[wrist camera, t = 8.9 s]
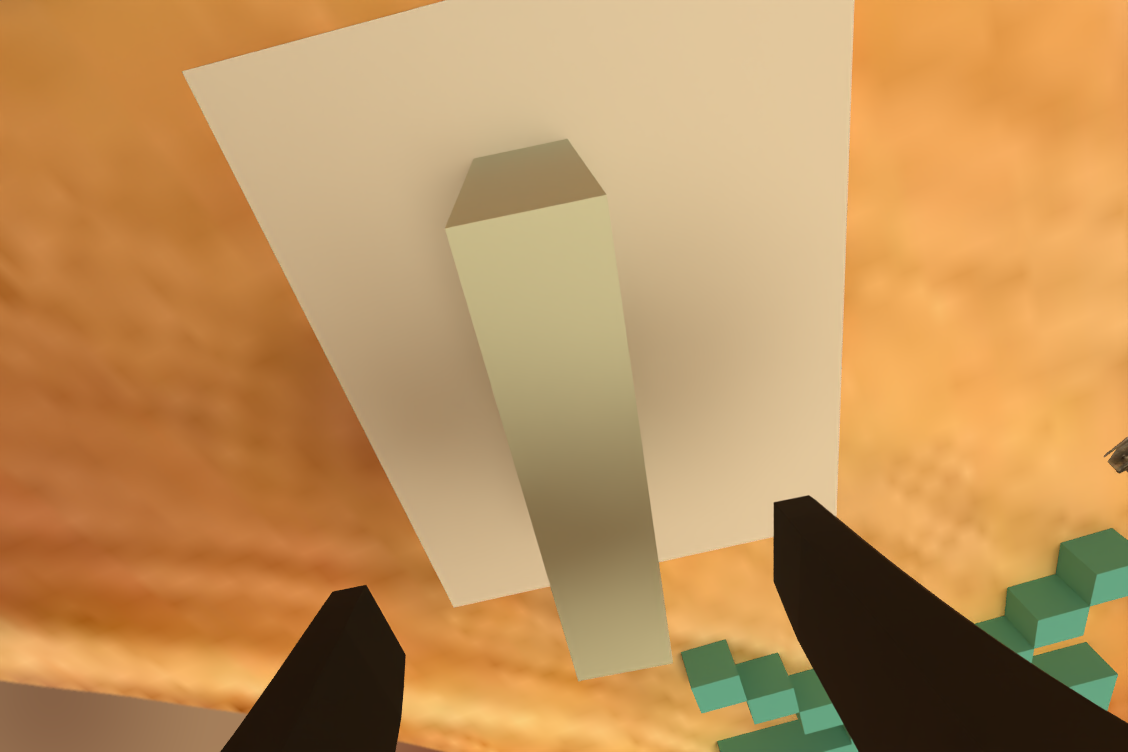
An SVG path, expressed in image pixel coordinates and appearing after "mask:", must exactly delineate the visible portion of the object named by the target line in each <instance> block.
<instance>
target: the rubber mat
mask: <svg viewBox="0 0 1128 752" xmlns="http://www.w3.org/2000/svg"><path fill="white" fill-rule="evenodd" d="M853 25H854V0H445V1H442V2H438V3H434V4H431V5H427V6H423V7H419V8H416V9H412V10H408V11H405V12H401V13H397V14H393V15H390V16H386V17H382V18H379V19H375V20H371V21H367V22H364V23H360V24H356V25H353V26H349V27H345V28H341V29H338V30H334V31H330V32H327V33H323V34H319V35H315V36H312V37H308V38H304V39H301V40H297V41H293V42H289V43H286V44H282V45H278V46H275V47H271V48H267V49H263V50H260V51H256V52H252V53H249V54H245V55H241V56H237V57H234V58H230V59H226V60H223V61H219V62H215V63H211V64H208V65H204V66H200V67H197V68H193V69H189V70H185V71H182V73H183V75H184V77H185V79H186V81H187V83H188V85H189V87H190V88H191V90H192V92H193V94H194V96H195V98H196V100H197V102H198V104H199V106H200V108H201V110H202V112H203V114H204V116H205V118H206V120H207V122H208V124H209V126H210V128H211V130H212V132H213V134H214V136H215V138H216V140H217V142H218V144H219V146H220V148H221V150H222V152H223V154H224V155H225V157H226V159H227V161H228V163H229V165H230V167H231V169H232V171H233V173H234V175H235V177H236V179H237V181H238V183H239V185H240V187H241V189H242V191H243V193H244V195H245V197H246V199H247V201H248V203H249V205H250V207H251V209H252V211H253V213H254V215H255V217H256V219H257V221H258V223H259V224H260V226H261V228H262V230H263V232H264V234H265V236H266V238H267V240H268V242H269V244H270V246H271V248H272V250H273V252H274V254H275V256H276V258H277V260H278V262H279V264H280V266H281V268H282V270H283V272H284V274H285V276H286V278H287V280H288V282H289V284H290V286H291V288H292V290H293V292H294V293H295V295H296V297H297V299H298V301H299V303H300V305H301V307H302V309H303V311H304V313H305V315H306V317H307V319H308V321H309V323H310V325H311V327H312V329H313V331H314V333H315V335H316V337H317V339H318V341H319V343H320V345H321V347H322V349H323V351H324V353H325V355H326V357H327V359H328V361H329V362H330V364H331V366H332V368H333V370H334V372H335V374H336V376H337V378H338V380H339V382H340V384H341V386H342V388H343V390H344V392H345V394H346V396H347V398H348V400H349V402H350V404H351V406H352V408H353V410H354V412H355V414H356V416H357V418H358V420H359V422H360V424H361V426H362V428H363V430H364V431H365V433H366V435H367V437H368V439H369V441H370V443H371V445H372V447H373V449H374V451H375V453H376V455H377V457H378V459H379V461H380V463H381V465H382V467H383V469H384V471H385V473H386V475H387V477H388V479H389V481H390V483H391V485H392V487H393V489H394V491H395V493H396V495H397V497H398V499H399V500H400V502H401V504H402V506H403V508H404V510H405V512H406V514H407V516H408V518H409V520H410V522H411V524H412V526H413V528H414V530H415V532H416V534H417V536H418V538H419V540H420V542H421V544H422V546H423V548H424V550H425V552H426V554H427V556H428V558H429V560H430V562H431V564H432V566H433V568H434V569H435V571H436V573H437V575H438V577H439V579H440V581H441V583H442V585H443V587H444V589H445V591H446V593H447V595H448V597H449V599H450V601H451V603H452V605H453V607H458V606H463V605H467V604H472V603H476V602H481V601H485V600H490V599H494V598H499V597H504V596H508V595H513V594H517V593H522V592H526V591H531V590H535V589H540V588H544V587H549V586H550V583H549V580H548V577H547V573H546V570H545V566H544V563H543V560H542V556H541V553H540V549H539V546H538V543H537V539H536V536H535V532H534V529H533V526H532V522H531V519H530V516H529V512H528V509H527V505H526V502H525V499H524V495H523V492H522V488H521V485H520V482H519V478H518V475H517V471H516V468H515V465H514V461H513V458H512V455H511V451H510V448H509V444H508V441H507V438H506V434H505V431H504V427H503V424H502V421H501V417H500V414H499V410H498V407H497V404H496V400H495V397H494V393H493V390H492V387H491V383H490V380H489V377H488V373H487V370H486V366H485V363H484V360H483V356H482V353H481V349H480V346H479V343H478V339H477V336H476V332H475V329H474V326H473V322H472V319H471V316H470V312H469V309H468V305H467V302H466V299H465V295H464V292H463V288H462V285H461V282H460V278H459V275H458V271H457V268H456V265H455V261H454V258H453V255H452V251H451V248H450V244H449V241H448V238H447V234H446V231H445V227H446V224H447V222H448V219H449V217H450V215H451V212H452V210H453V207H454V205H455V203H456V200H457V198H458V195H459V193H460V190H461V188H462V186H463V183H464V181H465V178H466V176H467V173H468V171H469V169H470V166H471V164H472V161H473V159H474V158H479V157H483V156H488V155H493V154H498V153H502V152H507V151H512V150H517V149H521V148H526V147H531V146H536V145H540V144H545V143H550V142H555V141H559V140H564V139H568V140H569V142H570V143H571V145H572V146H573V148H574V149H575V150H576V152H577V153H578V155H579V156H580V157H581V159H582V160H583V162H584V163H585V165H586V166H587V167H588V169H589V170H590V172H591V173H592V175H593V176H594V177H595V179H596V180H597V182H598V183H599V185H600V186H601V187H602V189H603V190H604V192H605V193H606V194H607V201H608V208H609V215H610V222H611V229H612V236H613V243H614V250H615V257H616V264H617V271H618V278H619V285H620V292H621V299H622V306H623V314H624V321H625V328H626V335H627V342H628V349H629V356H630V363H631V370H632V377H633V384H634V391H635V398H636V405H637V412H638V419H639V427H640V434H641V441H642V448H643V455H644V462H645V469H646V476H647V483H648V490H649V497H650V504H651V511H652V518H653V525H654V532H655V540H656V547H657V554H658V561H659V562H662V561H666V560H671V559H676V558H680V557H685V556H689V555H694V554H698V553H703V552H707V551H712V550H716V549H721V548H725V547H730V546H734V545H739V544H743V543H748V542H752V541H757V540H761V539H766V538H771V537H774V502H777V501H782V500H787V499H792V498H797V497H802V496H807V495H809V496H811V497H812V498H814V499H815V500H817V501H818V502H819V503H820V504H821V505H823V506H824V507H825V508H826V509H827V510H828V511H830V512H831V513H832V514H833V515H834V516H836V514H837V486H838V457H839V428H840V399H841V370H842V342H843V313H844V284H845V255H846V226H847V198H848V169H849V140H850V111H851V82H852V53H853Z"/></svg>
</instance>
